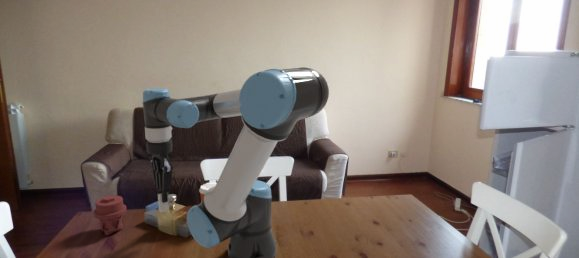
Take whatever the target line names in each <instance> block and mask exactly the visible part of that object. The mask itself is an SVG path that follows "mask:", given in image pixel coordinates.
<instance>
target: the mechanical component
mask: <svg viewBox="0 0 579 258" xmlns="http://www.w3.org/2000/svg"><path fill="white" fill-rule="evenodd" d="M125 213H127V205H126V204H124V199H123V197H122V196H121V195H113V194H112V195H111V194H109V195H106V196H104V197H100V198H98V199H97V200H96V201H95V209H94V210H93V217H94V218H95V219H97V220H99V226H100V230H101V231H103V232H104V235H105V236H109V235H111V234H113V233H116V232H119V231H123V229H124V223H123V222H124V221H123V215H124V214H125Z"/></svg>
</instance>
